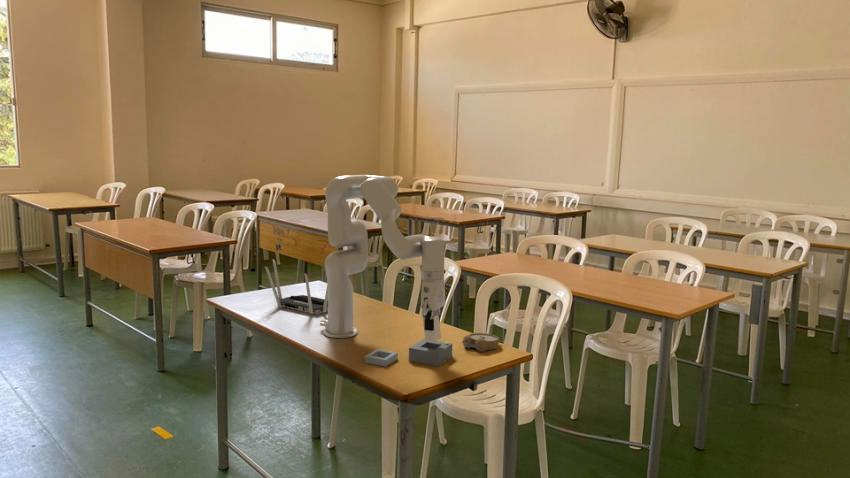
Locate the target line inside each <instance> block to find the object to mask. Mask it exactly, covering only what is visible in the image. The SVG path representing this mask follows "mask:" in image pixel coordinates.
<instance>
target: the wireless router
mask: <svg viewBox="0 0 850 478" xmlns="http://www.w3.org/2000/svg"><path fill="white" fill-rule="evenodd" d="M272 264H273V265H272V266H273V271H274V277H275V283H276V287H275V284H274V281H273V278H272V275H271V272H270V270H269V267H268V266H264V269H265V272H266V274H267V277H268V281H269V283H270V286H271V289H272V292H273V295H274V297H275V301H276V304H277V307H278V308H280V307H281V308H285V307H287V308H286V309H289V308H291V309H290V310H294V309H295V311H298V310H299V312H303V313H308V314H311V315H320V314H322V313H326V312H328V288H327V287H326V290H325V295H324V298H319V297H315V296H311V290H310V284H309V277H308V274H307V273H305V272H304V278H305V279H304V280H305V286H306V287H305V289H306V294H307V295H304V294H301V295H300V294H298V295H291V296H288V297H287V296H286V297H282V296H283V295H282V290H281V285H280V281H279V274H278V269H277V262H276V260H275V259H274V258H273V259H272Z"/></svg>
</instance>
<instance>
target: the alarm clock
mask: <svg viewBox="0 0 850 478" xmlns="http://www.w3.org/2000/svg"><path fill="white" fill-rule="evenodd" d="M500 342H501V340H500V337H499V336H497V335H495V334H491V333H484V332H483V333H482V332H475V333H474V332H473V333H470V334H467V335H465V336H464V337H463V339H462V342H461V343H463V344H462V345H463V346H464V348H466V349H470V348H473V349H475V350H476V351H478V352H481V353H484V352H486V351H487V350H489V351H490V350H491V351H493V350H496V349H498V348H499V345H500V344H499V343H500Z"/></svg>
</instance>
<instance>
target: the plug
mask: <svg viewBox="0 0 850 478" xmlns="http://www.w3.org/2000/svg"><path fill="white" fill-rule="evenodd" d="M427 312H429V311H427ZM429 313H430V312H429ZM421 315H422V322H423V324H422V325H424V322H425V319H424V315H423V314H422V313H421ZM439 316H440V315H439V314H438V310H436V311H433V319H434V330H433V331H429V330H425V329H424V328H423V330H424V331H423V333H424V339H425V341H439V340H440V339H441V338H442V333H441V326H440V325H441V322H440V323H439Z"/></svg>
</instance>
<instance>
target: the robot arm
mask: <svg viewBox="0 0 850 478" xmlns="http://www.w3.org/2000/svg"><path fill="white" fill-rule="evenodd" d="M398 192H399V187H398V183H397V182H396V181H395V180H394V179H393V178H391V177H389V176H383V175H381V176H380V175H369V174H355V175H354V174H353V175H352V174H351V175H350V174H349V175H340V176H336V177H334V178H332V179H331V180H330V181H328V183H327V185H326V187H325V196H324V198H325V202H326V208H327V237H328V238H327V239H328V243H329V245H331V246H332V247H334V248H346V247H347V249H341V250H337V251H333V252H331V253H329V254H328V255H326V258H325V261H324V270H325V275H326V289H327V288H328V311H327V319H323V318H321V320H320V323H319V326H321V327H324V330H323V335H324V336H326V337H328V338H332V339H347V338H351V337H354V336H356V335H357V334H358V329H357V328H356V327H355V326H354V286H353V283H352V281H351V280H352V279H350V275H354V274H358V273H361V272H364V271H365V270H366V268H367V266H368V263H369V243H368V241H369V240H368V239H369V237H368V230H367V227H366V225H365V224H364V223H363V221H361V220H358V219H352V217H351V216H352V212H351V207H350V204H349V203H348V201H347V200H352V199H353V200H354V199H355V200H356V199H364V201H366V203H367V204H368V205H369V207H370V208H371V210H372V211H373V212H374V213H375V215H376V216H377V218H378V219H379V221H380V223H381V224H380V225H381V226H380V229H381V235H382V239H383V242H384V243H385V244H386V247H388V249H389V251H391V253H392V254H393V255H394V256H395V257H396V258H397V259H398V260H399V259H400V260H411V259H416V258H420V257H421V269H420V270H421V271H420V272H421V280H422V281H421V292H420V293H421V294H420V308H421V315H422V314H423V315H424V319H425V322H424V324H423V330H424V329H425V330H429V331H433V330H434V319H433V311H436V310H438V314H439V323H440V324H441V322H440V321H441V309H442V308H443V307H444V306H445V305H446V285H445V240H444V238H441V237H435V236H434V237H431V236H428V235H425V234H414V235H407V236H405V235H403V233H402V232H401V230H400V229H399V228H398V226H397V223H396V220H397V219H398V218H399V216H400V215H401V214H402V212H403V209H402V206H401V204H399V202H398V201H397V200H396V198H395V197H397V195H398ZM427 311H429V312H430V313H429V312H427Z"/></svg>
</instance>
